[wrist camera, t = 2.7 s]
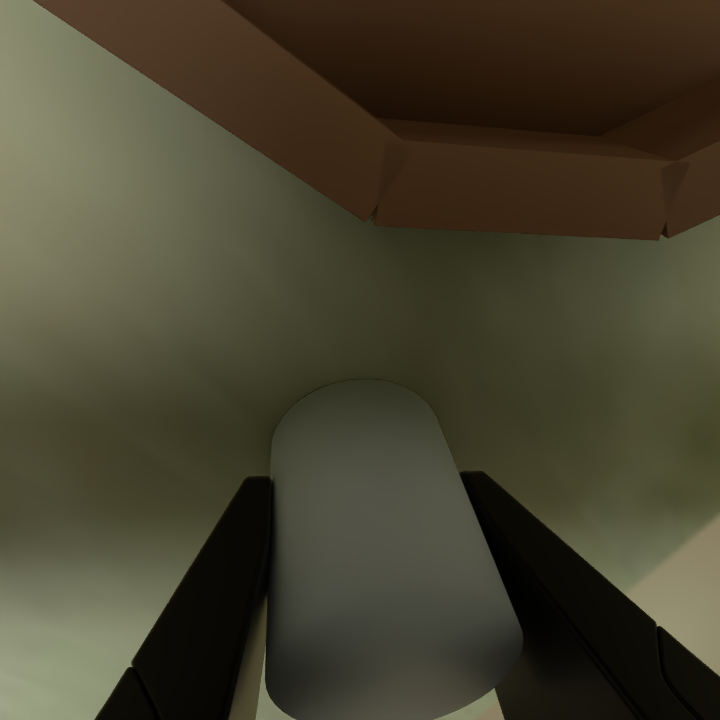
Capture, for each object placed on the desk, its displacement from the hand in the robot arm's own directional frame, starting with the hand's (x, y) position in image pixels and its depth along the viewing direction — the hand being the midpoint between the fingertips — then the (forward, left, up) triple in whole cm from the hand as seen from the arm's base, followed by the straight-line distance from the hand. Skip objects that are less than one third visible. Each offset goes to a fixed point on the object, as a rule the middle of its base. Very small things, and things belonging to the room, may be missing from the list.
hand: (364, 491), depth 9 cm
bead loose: (0, 0, -1) cm, 1 cm away
